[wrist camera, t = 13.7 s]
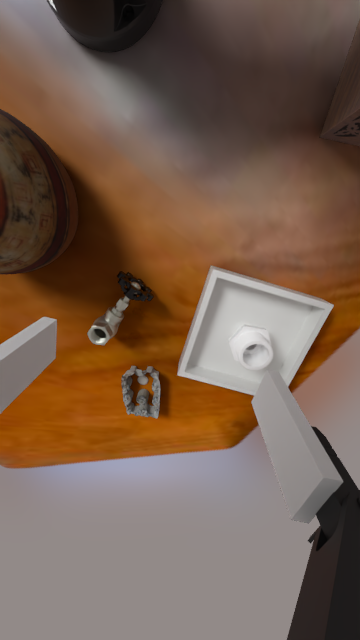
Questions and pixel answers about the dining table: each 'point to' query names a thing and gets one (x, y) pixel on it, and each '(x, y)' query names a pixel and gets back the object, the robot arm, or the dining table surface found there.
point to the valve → (118, 309)
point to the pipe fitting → (251, 347)
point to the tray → (251, 309)
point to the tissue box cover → (346, 100)
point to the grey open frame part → (141, 393)
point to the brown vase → (32, 200)
